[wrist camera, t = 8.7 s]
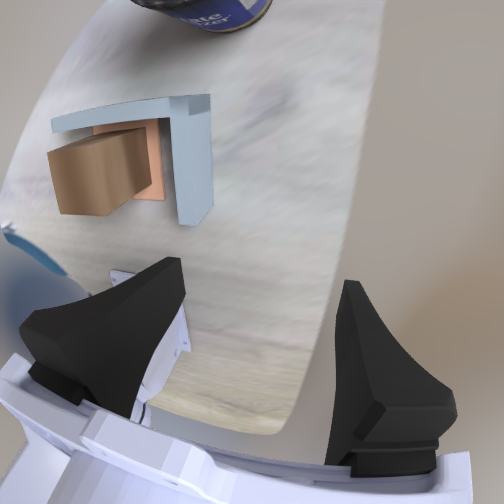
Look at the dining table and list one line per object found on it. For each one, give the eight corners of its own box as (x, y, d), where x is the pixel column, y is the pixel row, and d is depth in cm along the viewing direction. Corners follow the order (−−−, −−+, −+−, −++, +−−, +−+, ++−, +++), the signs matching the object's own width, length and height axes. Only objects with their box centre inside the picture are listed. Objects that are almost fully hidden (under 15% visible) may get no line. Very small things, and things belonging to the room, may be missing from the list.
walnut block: (145, 127, 19) (92, 145, 14) (152, 183, 22) (105, 216, 17) (100, 132, 20) (47, 152, 15) (108, 184, 22) (60, 214, 17)
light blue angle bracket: (213, 205, 22) (195, 226, 19) (92, 198, 24) (67, 215, 21) (210, 93, 18) (188, 95, 15) (80, 111, 20) (50, 119, 17)
